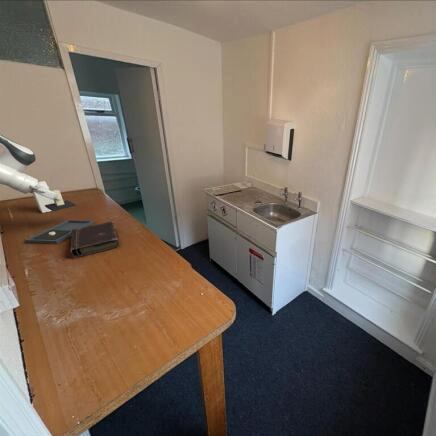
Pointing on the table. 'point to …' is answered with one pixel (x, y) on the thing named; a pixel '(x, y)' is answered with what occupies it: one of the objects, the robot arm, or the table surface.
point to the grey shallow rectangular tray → (62, 226)
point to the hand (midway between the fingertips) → (59, 198)
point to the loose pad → (54, 207)
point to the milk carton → (43, 199)
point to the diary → (93, 239)
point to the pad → (53, 234)
